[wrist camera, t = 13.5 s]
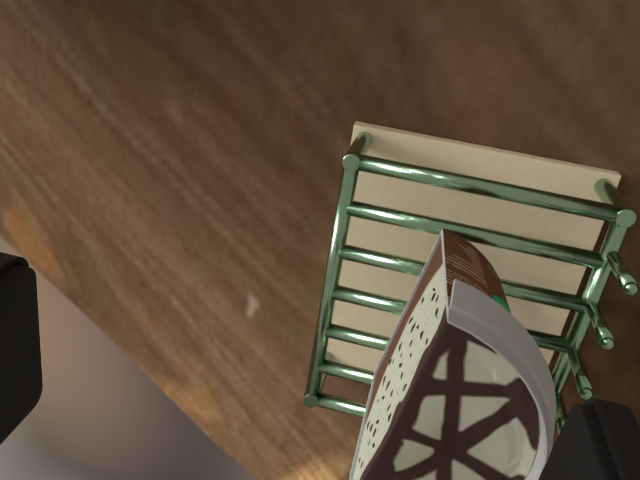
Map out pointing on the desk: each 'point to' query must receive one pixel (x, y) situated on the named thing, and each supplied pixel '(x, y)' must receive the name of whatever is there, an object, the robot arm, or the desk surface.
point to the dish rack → (477, 228)
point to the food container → (457, 382)
